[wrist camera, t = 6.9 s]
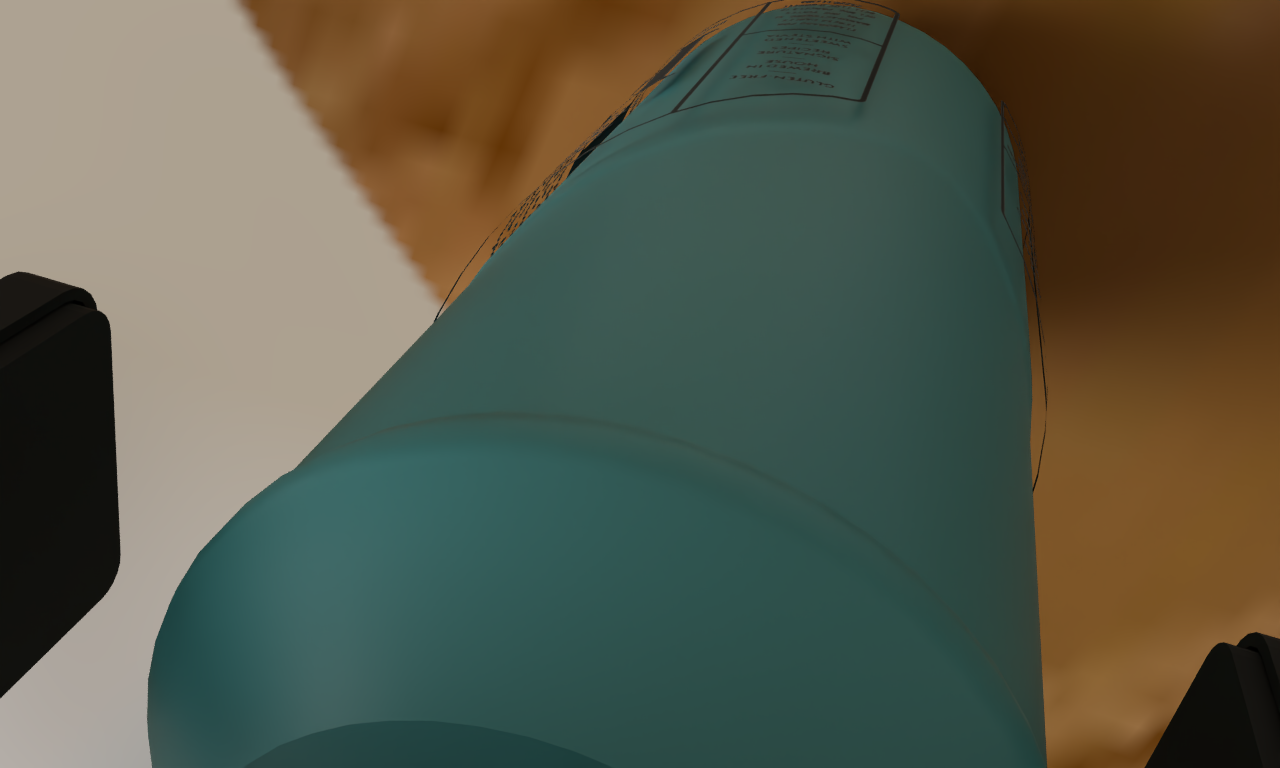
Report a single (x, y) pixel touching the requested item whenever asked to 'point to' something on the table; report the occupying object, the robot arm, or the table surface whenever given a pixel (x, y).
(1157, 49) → the table surface
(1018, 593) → the beverage bottle
